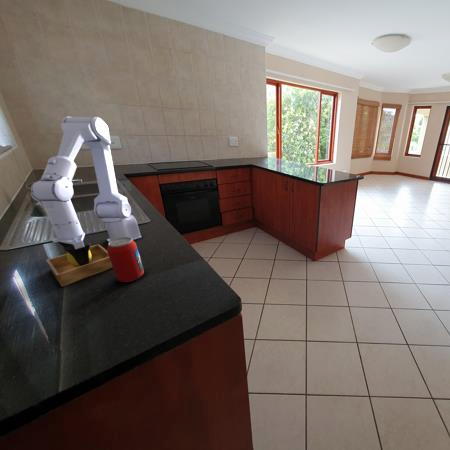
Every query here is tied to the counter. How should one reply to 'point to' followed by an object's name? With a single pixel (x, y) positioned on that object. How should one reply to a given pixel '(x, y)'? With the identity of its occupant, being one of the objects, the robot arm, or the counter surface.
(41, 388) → the counter surface
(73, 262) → the lemon
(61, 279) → the wooden tray
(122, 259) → the beverage can
